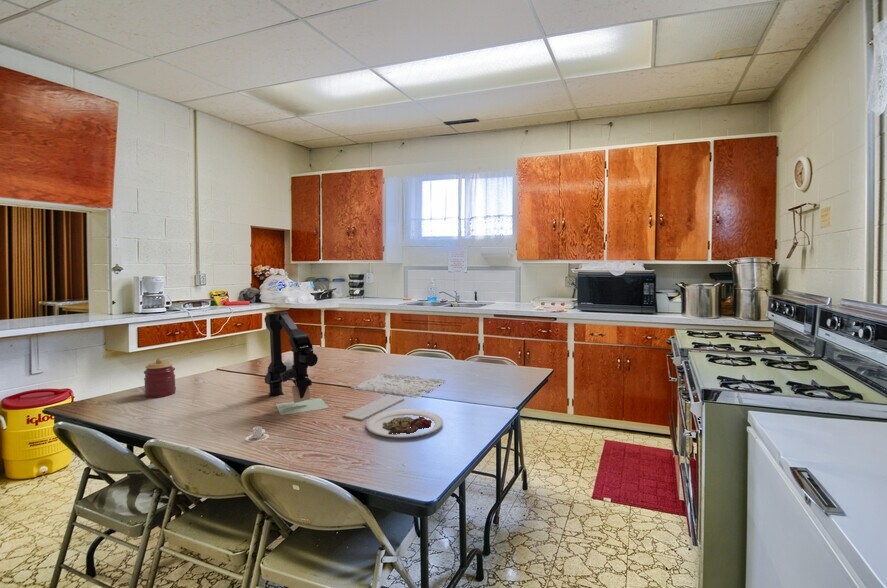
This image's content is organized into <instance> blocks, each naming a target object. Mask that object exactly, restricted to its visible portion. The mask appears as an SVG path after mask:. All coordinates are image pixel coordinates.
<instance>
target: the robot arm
mask: <svg viewBox="0 0 887 588" xmlns="http://www.w3.org/2000/svg"><path fill="white" fill-rule="evenodd" d="M264 323H265V327H266V329H268V331H269V342H270V363H269V365H268V366H267V373H266V375H265V377H264V383H265V384H266V385H269V392H268V393H267V395H268V396H269V398H270V397H279V396H284V395H285V393H284V392H283V383H286V382H287V381H289V380H291V379H293V380H292V383H294V386H297V387H298V390H299V394H300V398H303V397H304V394H305V392H306V390H307V387H308V386H309V387H310V386H312V385H313V384H312V383H313V382H312V381H313V380H311V379H310V378H309V374H308V368H309V367H314V366H316V364H317V363H318V361H319V360H318V359H319V358H318V355H317V354H316V353H314V347H313V344H312V341H311V339H310V337H309V335H308V334H307V333H306V332H305V331H303V330H301V329H299V328H298V326H297V325H296V324H295V322H294V320H293V319H292V318H291V317H290V313H289V312H288V311H279V312H273V313H271V312H270V313H266V316H264ZM283 329H284V331H285V332H286V334H287V336H288V338H289V340H288V342H289V345H290V347H291V352H292V359H293V360H292V361H293V363H294V364H293V365H292V368H291V369H289V370H286V365H284V364H283V363H284V362H283V355H282V337H281V336H282V335H281V332H282V330H283ZM293 377H294V378H293Z"/></svg>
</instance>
